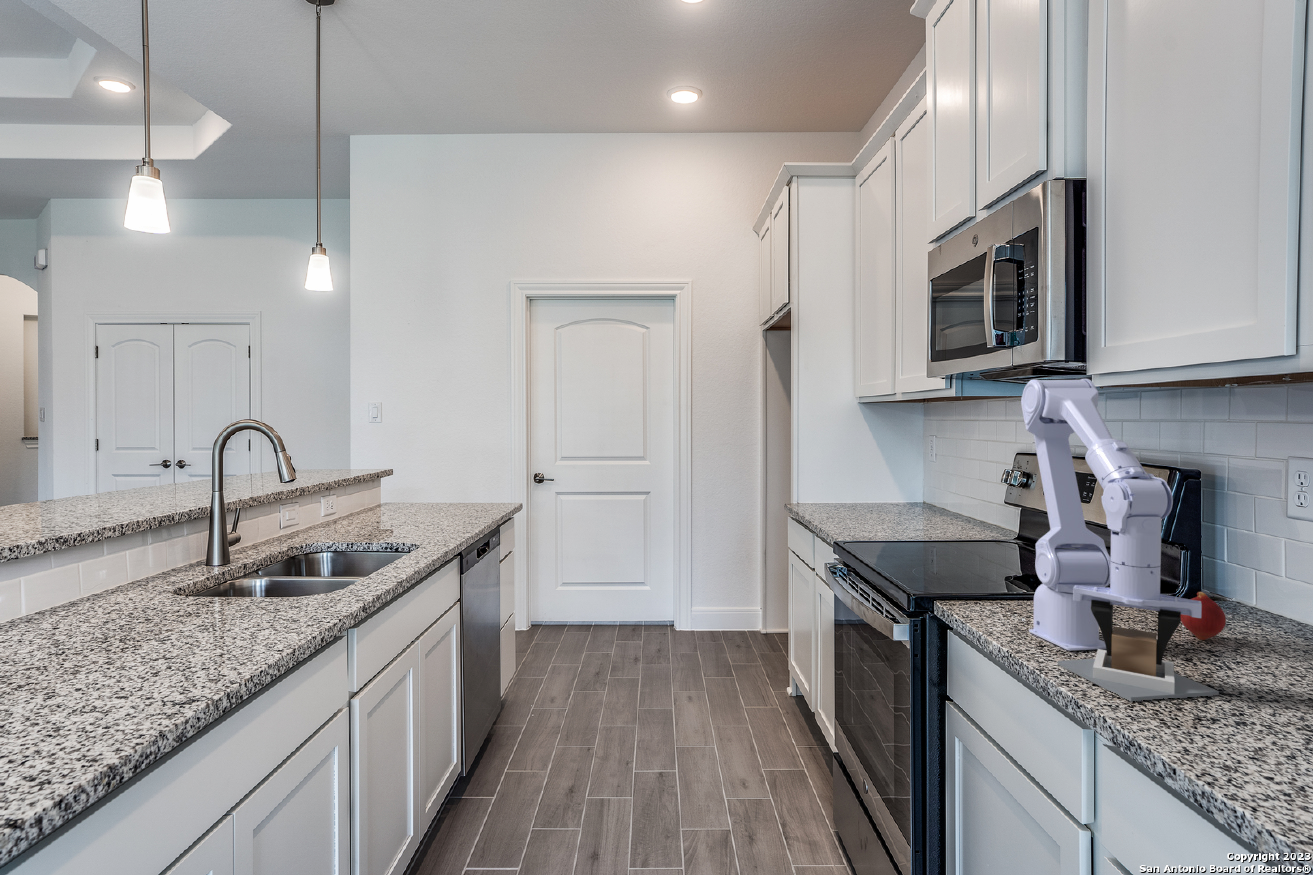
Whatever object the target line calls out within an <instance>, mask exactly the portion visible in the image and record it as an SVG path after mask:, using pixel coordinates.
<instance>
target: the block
mask: <svg viewBox="0 0 1313 875" xmlns="http://www.w3.org/2000/svg"><path fill="white" fill-rule="evenodd" d="M1157 637H1158V632H1152V631H1146V630H1141V629H1140V630H1138V629H1134V628H1133V629H1132V628H1126V627H1120V626H1119V627H1118V626H1113V632H1112V654H1111V668H1112V669H1117V670H1122V671H1128V672H1133V673H1138V674H1144V675H1149V676H1154V677H1156V645H1157Z"/></svg>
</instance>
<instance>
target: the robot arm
mask: <svg viewBox="0 0 1313 875" xmlns="http://www.w3.org/2000/svg"><path fill="white" fill-rule="evenodd" d="M1020 400H1021V401H1020V404H1021V410H1022V417H1023V420H1024V422H1023V423H1024V425H1025V430H1026V431H1027V432H1029V433H1031V434H1032V435H1033V440H1034V441H1033V442H1034V445H1035V451H1036V457H1037V462H1038V468H1039V472H1040V474H1039V475H1040V479H1041V484H1042V485H1041V486H1042V490H1043V495H1044V496H1043V497H1044V501H1045V506H1046V512H1047V518H1048V524H1049V531H1047V533H1045V534H1044V535H1042V536H1041V537H1040V538H1038V540H1037V541H1036V543H1035V560H1034V561H1035V562H1034V563H1035V565H1034V567H1035V572H1036V575H1037V577H1038V579H1039V581H1040V582H1041V584H1040V585H1038V587H1037V588H1036V589H1035V592H1034V595H1033V628H1030V629H1028V632H1029V633H1030V634H1032V635H1035V636H1037V637H1038V638H1040V639H1043V640H1045V641H1047V642H1050V643H1051V644H1054V645H1055V646H1058V647H1060V648H1061V649H1064V650H1067V651H1088V650H1089V651H1090V650H1098V649H1101V650H1106V651H1107V656H1111V654H1112V632H1113V628H1114V626H1113V623H1114V622H1113V620H1114V619H1113V618H1114V606H1118V607H1125V608H1132V609H1139V610H1147V611H1153V612H1157V644H1156V665H1162V660H1163V658H1164V654H1165V651H1166V649H1167V646H1168V644H1169V642H1170V640H1171V638H1172V636H1173V634H1174V633H1175V632H1176V630H1177V629H1178V628H1179V626H1180V624H1181V623H1182V622H1181V614H1182V615H1189V616H1191V617H1195V618H1201V611H1202V604H1201V601H1197V600H1190V599H1191V598H1190V599H1188V598H1183V597H1177V596H1173V595H1169V594H1168V595H1167V594H1162V593H1161V564H1162V562H1161V561H1162V560H1161V559H1162V520H1163V519H1166V518H1167V517H1168V516H1169V515H1170V514H1171V511H1172V509H1173V504H1174V500H1173V499H1174V498H1173V493H1172V490H1171V488H1170V486H1169V485H1168V482H1167V481H1166V480H1165V479H1164V478H1161V477H1158V476H1155V475H1154V474H1153V473H1150V472H1149V473H1148V472H1146V470H1145V468H1144V467H1143V466H1142V464H1141V463H1140V461H1139V460H1138V458H1137V457H1136V456H1135V454H1134V452H1133V451H1132V450H1131V448H1130V447H1129V446H1128V444H1127V443H1126V442H1125V441H1124V440H1121V439H1118V438H1113V436H1112V434H1111V433H1110V430H1109V428H1108V426H1107V425H1106V422H1105V421H1104V419H1103V417H1102V414H1101V413H1100V411H1099V409H1098V405H1099V391H1098V389H1097V387H1096V385H1095V384H1094V382H1093V381H1092V380H1090V379H1089V378H1081V379H1052V380H1051V379H1050V380H1049V379H1046V380H1045V379H1044V380H1043V379H1041V380H1040V379H1036V378H1035V379H1030V380H1029V381H1028V382H1027V383H1026V384H1025V386H1024V389H1023V390H1022V395H1021V398H1020ZM1071 434H1076V435H1077V437H1078V438H1079V439H1080V440H1081V442H1082V443H1083V444H1084V446H1085V447H1086V448H1087V452H1086V453H1085V455H1084V456H1085V462H1086V464H1087V465H1088V467H1089V469H1090V470H1091V471H1092V473H1093V475H1094V477H1095V478H1096V481H1098V483H1099V485H1100V486H1101V488H1102V490H1103V493H1102V495H1101V505H1102V507H1103V511H1104V513H1105V516H1106V521H1105V522H1106V523H1105V524H1106V525H1107V529H1109V530H1110V554H1109V553H1108V552H1109V551H1108V550H1107V548H1106V544H1105V540H1104V539H1103V538H1102V537H1101V536H1099V535H1098V534H1096V533H1094V532H1093V531H1092V530H1090V529H1088V528H1087V526H1086V522H1085V517H1084V510H1083V506H1082V501H1081V497H1080V491H1079V486H1078V485H1079V484H1078V481H1077V476H1076V470H1075V466H1074V461H1073V456H1072V455H1073V454H1072V450H1071V445H1070V440H1069V439H1070V436H1071ZM1108 586H1110V587H1108ZM1100 632H1101V634H1102V638H1103V640H1101V639H1100Z"/></svg>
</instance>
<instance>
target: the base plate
mask: <svg viewBox="0 0 1313 875" xmlns="http://www.w3.org/2000/svg"><path fill="white" fill-rule="evenodd" d="M1057 665H1058V666H1059V667H1062V668H1064V669H1066V670H1067V671H1069V672H1071V673H1073V674H1076V675H1077V676H1078V677H1081V678H1083V679H1085V680H1087V681H1089V682H1091V683H1093V684H1095V685H1097V686H1099V687H1101V688H1103V689H1104V690H1107V691H1108V692H1110V691H1111V692H1110V693H1112V692H1113V693H1112V694H1114V693H1116V694H1118V695H1119V696H1118V695H1117V696H1118V697H1121V698H1123V699H1124V698H1125V699H1124V700H1126V699H1127V701H1128V700H1129V702H1130V703H1133V701H1135V702H1136V701H1137V702H1144V701H1143V700H1151V701H1153V700H1152V699H1163V698H1164V699H1165V698H1180V699H1188V698H1187V697H1194V698H1200V697H1199V696H1208V697H1214V696H1213V695H1219V694H1220V692H1219V690H1216V689H1214V688H1212V687H1209V686H1208V685H1205V684H1203V683H1200V682H1198V681H1195V680H1193V679H1191V678H1188V677H1186V676H1184V675H1181V674H1179V673H1176V672H1175V663H1174V661H1169V660H1163V659H1162V665H1156V677H1154V676H1149V675H1144V674H1138V673H1133V672H1128V671H1122V670H1117V669H1112V668H1111V656H1107V651H1106V649H1097V651H1096V655H1095V657H1094V658H1083V659H1067V660H1066V659H1065V660H1063V659H1062V660H1057ZM1116 694H1115V695H1116ZM1197 696H1198V697H1197ZM1219 696H1220V695H1219ZM1141 700H1142V701H1141ZM1165 700H1166V699H1165ZM1135 702H1134V703H1135Z"/></svg>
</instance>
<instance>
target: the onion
mask: <svg viewBox="0 0 1313 875" xmlns="http://www.w3.org/2000/svg"><path fill="white" fill-rule="evenodd" d="M1196 595H1197V596H1195V597H1193V598H1190V600H1197V601H1201V604H1202V611H1201V618H1195V617H1191V616H1189V615H1182V614H1181V622H1180V623H1181V624H1182V625H1183V626H1184V627H1185V628H1186V629H1187V630H1188V631H1189V632H1190V633H1191V634H1193V635H1194V636H1195V637H1196V638H1197V639H1198V640H1201V641H1205V640H1207V639H1211V638H1214V637H1215V636H1217V635H1219V634H1220V633H1221V632H1222V631H1223V630H1224V628H1225V627H1226V622H1227V620H1226V619H1227V617H1226V615H1225V612H1224V610H1223V608H1222V607H1221V606H1220V605H1219V604H1218V603H1217V602H1216V601H1214V600H1213V599H1211V598H1210V597H1209V596H1208V595H1207V594H1206V593H1205V592H1202V591H1197V593H1196Z"/></svg>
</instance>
